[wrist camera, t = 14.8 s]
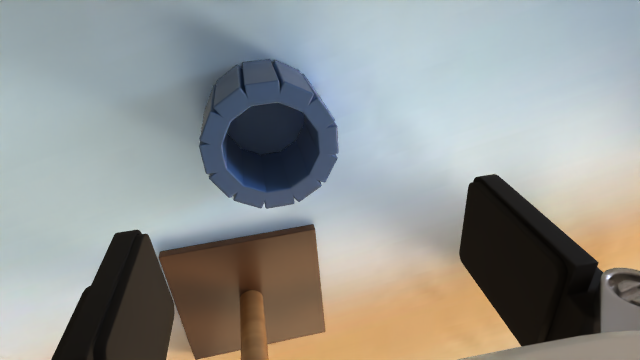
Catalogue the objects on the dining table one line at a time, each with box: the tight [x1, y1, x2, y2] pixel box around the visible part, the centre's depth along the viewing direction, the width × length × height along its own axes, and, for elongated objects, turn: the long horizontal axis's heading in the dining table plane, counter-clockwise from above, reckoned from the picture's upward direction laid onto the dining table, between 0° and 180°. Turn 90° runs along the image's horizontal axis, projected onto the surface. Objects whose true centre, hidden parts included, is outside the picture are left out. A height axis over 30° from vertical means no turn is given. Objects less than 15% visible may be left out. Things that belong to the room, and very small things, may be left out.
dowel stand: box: [159, 225, 325, 360], centre depth 26 cm, size 10×10×7 cm
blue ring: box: [199, 59, 339, 209], centre depth 20 cm, size 6×6×4 cm
